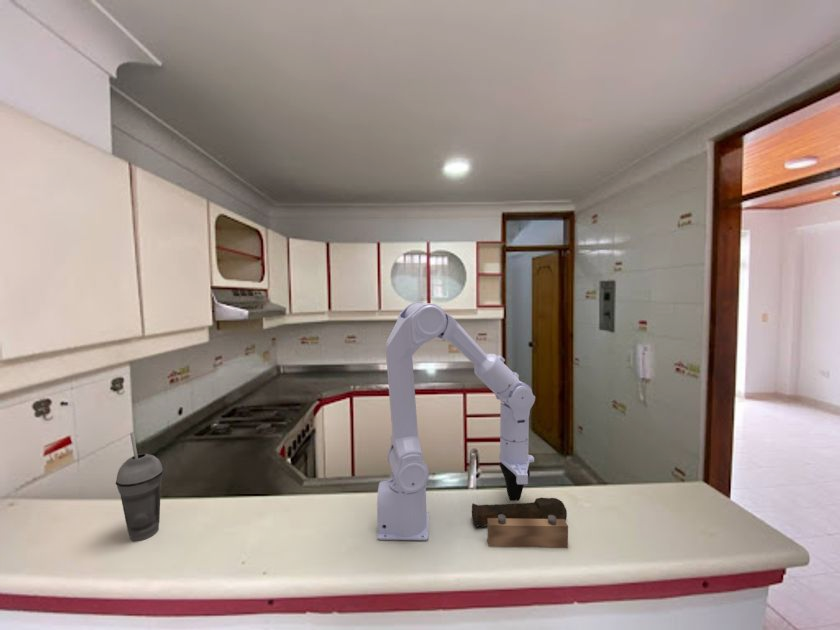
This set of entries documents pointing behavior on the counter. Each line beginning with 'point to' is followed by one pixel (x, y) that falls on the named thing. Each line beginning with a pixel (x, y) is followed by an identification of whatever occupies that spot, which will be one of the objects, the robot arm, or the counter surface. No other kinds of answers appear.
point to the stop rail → (527, 532)
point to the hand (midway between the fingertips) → (513, 499)
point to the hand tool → (519, 510)
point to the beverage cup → (140, 493)
